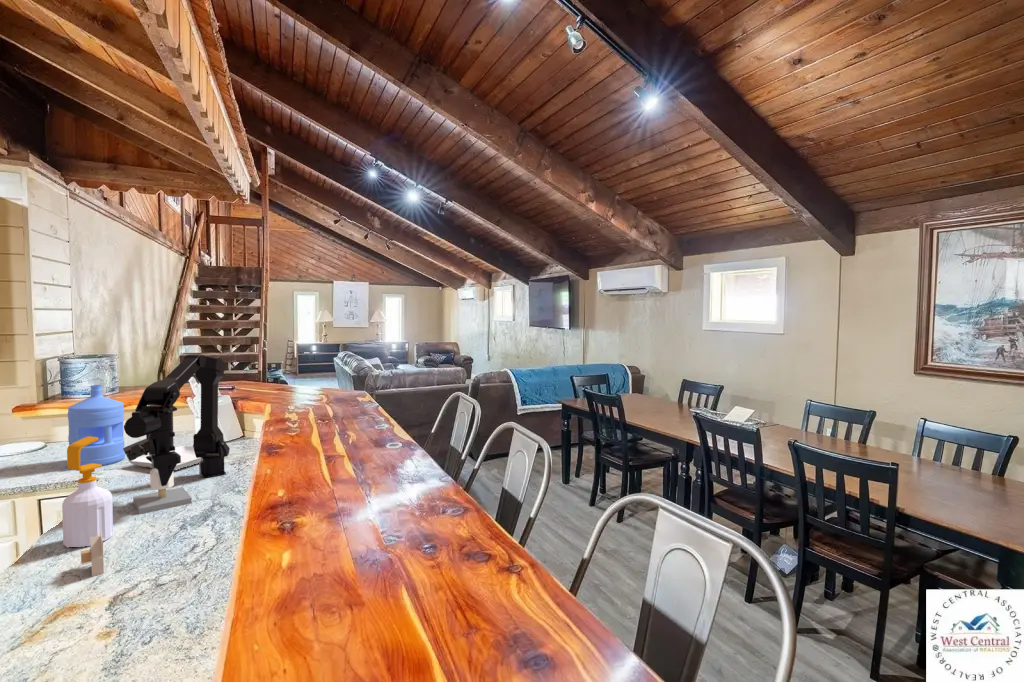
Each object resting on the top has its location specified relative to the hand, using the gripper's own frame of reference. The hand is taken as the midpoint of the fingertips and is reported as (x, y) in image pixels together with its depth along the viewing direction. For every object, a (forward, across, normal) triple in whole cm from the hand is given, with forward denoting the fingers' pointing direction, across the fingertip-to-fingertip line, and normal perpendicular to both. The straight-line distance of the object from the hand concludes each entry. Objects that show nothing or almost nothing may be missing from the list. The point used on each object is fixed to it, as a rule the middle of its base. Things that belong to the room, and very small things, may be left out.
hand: (162, 483), depth 141 cm
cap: (+1, 0, 0) cm, 1 cm away
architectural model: (+6, +36, -17) cm, 40 cm away
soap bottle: (+6, +17, -17) cm, 25 cm away
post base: (+6, 0, 0) cm, 6 cm away
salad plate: (+6, -42, +11) cm, 44 cm away
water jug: (+6, -62, -10) cm, 63 cm away
